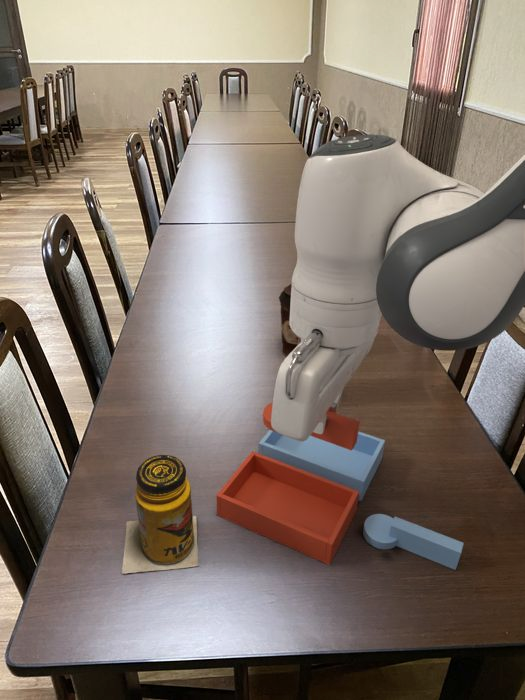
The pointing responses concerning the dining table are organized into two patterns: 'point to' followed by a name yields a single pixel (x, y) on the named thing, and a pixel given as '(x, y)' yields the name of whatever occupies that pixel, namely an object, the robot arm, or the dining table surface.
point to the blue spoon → (411, 539)
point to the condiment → (161, 519)
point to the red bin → (288, 505)
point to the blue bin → (328, 458)
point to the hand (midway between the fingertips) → (322, 421)
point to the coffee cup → (287, 322)
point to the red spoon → (328, 428)
